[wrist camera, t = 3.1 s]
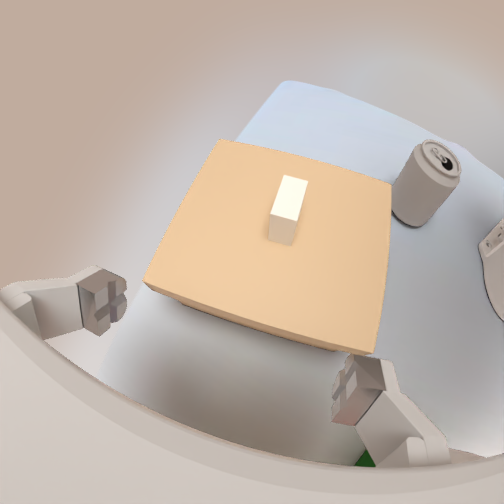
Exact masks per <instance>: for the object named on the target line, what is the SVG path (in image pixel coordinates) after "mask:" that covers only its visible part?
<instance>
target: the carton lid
mask: <svg viewBox="0 0 504 504" xmlns="http://www.w3.org/2000/svg"><path fill="white" fill-rule="evenodd" d="M390 228H391V184H389V183H386V182H383V181H381V180H378V179H375V178H372V177H369V176H366V175H363V174H360V173H357V172H354V171H351V170H348V169H344V168H341V167H338V166H334V165H331V164H328V163H324V162H321V161H317V160H313V159H310V158H306V157H302V156H298V155H294V154H290V153H286V152H282V151H278V150H273V149H269V148H264V147H259V146H255V145H250V144H245V143H240V142H234V141H228V140H223V139H219V140H218V142H217V144H216V145H215V147H214V148H213V150H212V152H211V153H210V155H209V156H208V158H207V160H206V161H205V163H204V165H203V167H202V168H201V170H200V172H199V173H198V175H197V176H196V178H195V180H194V182H193V183H192V185H191V187H190V189H189V190H188V192H187V194H186V196H185V197H184V199H183V201H182V203H181V205H180V206H179V209H178V210H177V212H176V214H175V216H174V218H173V220H172V221H171V223H170V225H169V227H168V229H167V231H166V233H165V235H164V237H163V239H162V241H161V243H160V245H159V247H158V249H157V251H156V253H155V255H154V257H153V259H152V261H151V263H150V265H149V267H148V269H147V271H146V274H145V276H144V278H143V280H142V281H143V282H144V283H145V284H146V285H147V286H148V287H149V288H150V289H151V290H153V291H156V292H158V293H161V294H163V295H166V296H168V297H171V298H174V299H176V300H179V301H182V302H184V303H187V304H190V305H192V306H195V307H198V308H201V309H203V310H206V311H209V312H212V313H215V314H218V315H221V316H224V317H227V318H229V319H232V320H235V321H239V322H242V323H245V324H248V325H251V326H254V327H257V328H260V329H264V330H267V331H270V332H274V333H277V334H280V335H284V336H287V337H291V338H294V339H298V340H301V341H305V342H309V343H312V344H316V345H320V346H324V347H328V348H332V349H335V350H340V351H344V352H348V353H353V354H357V355H362V356H364V355H368V354H372V353H374V349H375V344H376V339H377V334H378V329H379V324H380V318H381V312H382V306H383V299H384V292H385V284H386V276H387V267H388V257H389V244H390Z"/></svg>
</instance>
